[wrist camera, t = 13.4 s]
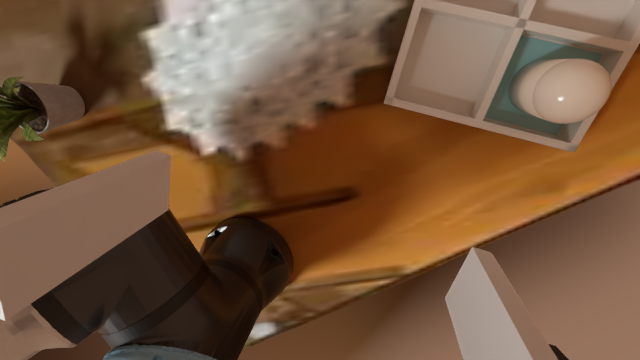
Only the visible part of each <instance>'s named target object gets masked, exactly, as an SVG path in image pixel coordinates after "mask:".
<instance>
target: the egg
mask: <svg viewBox="0 0 640 360" xmlns="http://www.w3.org/2000/svg"><path fill="white" fill-rule="evenodd" d="M611 87H612V83H611V78H610V75H609V73H608V72H607V70H606V69H605V68H604V67H603V66H601V65H600V64H598V63H596V62H594V61H591V60H588V59H542V60H536V61H533V62H530V63H528V64H526V65H525V66H523V67H522V68H520V69H519V70H518V71H517V72H516V74H515V75H514V76H513V78H512V80H511V82H510V84H509V89H508V95H509V99H510V102H511V104H512V105H513V106H514V107H515V108H516V109H518V110H519V111H522V112H524V113H527V114H530V115H533V116H536V117H538V118H541V119H544V120H547V121H550V122H553V123H560V124H567V123H574V122H578V121H581V120H584V119H586V118H588V117H590V116H592V115H593V114H595V113H596V112H597V111H599V110H600V109H601V108H602V107H603V105H604V104H605V103H606V101H607V100H608V98H609V96H610V93H611Z"/></svg>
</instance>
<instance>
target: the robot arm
mask: <svg viewBox="0 0 640 360" xmlns="http://www.w3.org/2000/svg"><path fill="white" fill-rule="evenodd" d="M170 167H171V155H168V154H165V153H161V152H158V151H152V152H150V153H147V154H144V155H142V156H139V157H136V158H134V159H131V160H128V161H125V162H123V163H120V164H117V165H115V166H112V167H109V168H107V169H104V170H101V171H99V172H96V173H93V174H90V175H88V176H85V177H82V178H80V179H77V180H74V181H72V182H69V183H66V184H64V185H61V186H58V187H56V188H52V189H47V190H42V191H37V192H34V193H31V194H28V195H26V196H23V197H20V198H19V199H18V200H12V201H9V202H6V203H3V205H2V206H0V360H27V359H29V358H30V357H31V356H33V355H34V354H36V353H37V352H39V351H40V350H43V349H46V348H63V347H64V348H65V347H74V346H75V345H77V344H78V343H80V342H81V341H83V340H84V339H85V338H87V337H88V336H89V335H91V334H92V333H94V332H95V331H98V332H99V333H100V334H101V335H102V337H103V338H104V339H105V340H106V341H107V343H108V344H109V345H110V346H111V348H112V350H111V351H110V352H108V353H107V354H106V355H105V357H104V359H103V360H237V359H238V357H239V355H240V353H241V351H242V349H243V347H244V345H245V343H246V341H247V339H248V337H249V335H250V333H251V331H252V329H253V327H254V325H255V322H256V320H257V318H258V316H259V314H260V312H261V311H262V310H263V309H264V308H265V307H266V306H267V305H268V304H269V303H270V302H272V301H273V300H274V299H275V298H276V297H277V296H278V295H279V294H280V293H281V292H282V291H283V290H284V289H285V287H286V285H287V283H288V281H289V279H290V277H291V274H292V270H293V259H292V254H291V251H290V249H289V247H288V245H287V243H286V242H285V240H284V239H283V238H282V237H281V236H280V234H278V233H277V232H276V231H275V230H274V229H273V228H271V227H270V226H268V225H267V224H265V223H263V222H261V221H258V220H255V219H251V218H246V217H236V218H230V219H227V220H225V221H223V222H221V223H220V224H218V225H217V226H216V227H215V228H214V229H213V230H212V231H211V232H210V233H209V234H208V235H207V237H206V238H205V240H204V242H203V245H202V247H201V249H200V252H198V251H197V250H196V248H195V247H194V245H193V244H192V242H191V241H190V239H189V238H188V236H187V235H186V233H185V232H184V230H183V229H182V227H181V226H180V224H179V223H178V221H177V220H176V218H175V217H174V215H173V214H172V212H171V211H170V209H169V187H170ZM445 300H446V303H447V306H448V310H449V313H450V316H451V319H452V323H453V326H454V330H455V333H456V336H457V340H458V343H459V347H460V350H461V353H462V357H463V360H568V358H567V357H566V356H565V355H563V353H562V352H561V351H560V350H559V349H558V348H557V347H556V346H553V345H550V344H548V343H547V341H546V339H545V338H544V336H543V335H542V333H541V332H540V330H539V328H538V327H537V325H536V324H535V322H534V320H533V319H532V317H531V315H530V314H529V312H528V311H527V309H526V307H525V306H524V304H523V303H522V301H521V299H520V298H519V296H518V294H517V293H516V292H515V290H514V288H513V286H512V285H511V284H510V282H509V280H508V279H507V277H506V275H505V274H504V272H503V270H502V269H501V267H500V266H499V264H498V262H497V261H496V259H495V258H494V256H493V254H492V253H491V252H487V251H484V250H481V249H478V248H474V247H472V248H471V250H470V252H469V254H468V256H467V258H466V260H465V262H464V264H463V265H462V267H461V269H460V271H459V273H458V275H457V277H456V278H455V280H454V282H453V284H452V286H451V288H450V290H449V292H448V293H447V295H446V297H445Z"/></svg>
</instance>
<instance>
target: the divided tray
mask: <svg viewBox="0 0 640 360" xmlns="http://www.w3.org/2000/svg"><path fill="white" fill-rule="evenodd" d="M639 44H640V0H414V3H413V6H412V9H411V13H410V16H409V19H408V23H407V26H406V29H405V33H404V36H403V39H402V42H401V46H400V49H399V52H398V56H397V59H396V62H395V66H394V69H393V72H392V76H391V79H390V82H389V85H388V89H387V92H386V95H385V99H384V104H387V105H391V106H395V107H399V108H403V109H407V110H411V111H415V112H418V113H422V114H426V115H430V116H434V117H438V118H442V119H446V120H450V121H453V122H457V123H461V124H465V125H469V126H473V127H477V128H481V129H484V130H488V131H492V132H496V133H500V134H504V135H508V136H512V137H516V138H519V139H523V140H527V141H531V142H535V143H539V144H543V145H547V146H550V147H554V148H558V149H562V150H566V151H570V152H575V150H576V148H577V147H578V145H579V143H580V142H581V140H582V138H583V137H584V135H585V133H586V132H587V130H588V128H589V127H590V125H591V123H592V122H593V120H594V118H595V117H596V115H597V113H598V112H599V111H597V112H596V113H595V114H593V115H592V116H590V117H588V118H586V119H584V120H581V121H578V122H574V123H567V124H560V123H553V122H550V121H547V120H544V119H541V118H538V117H536V116H533V115H530V114H527V113H524V112H522V111H519V110H518V109H516V108H515V107H514V106H513V105H512V104H511V102H510V99H509V95H508V89H509V84H510V82H511V80H512V78H513V76H514V75H515V74H516V72H517V71H518V70H519V69H520V68H522V67H523V66H525V65H526V64H528V63H530V62H533V61H536V60H542V59H588V60H591V61H594V62H596V63H598V64H600V65H601V66H603V67H604V68H605V69H606V70H607V72H608V73H609V75H610V78H611V83H612V87H611V90H612V88H613V87H614V85H615V84H616V82H617V80H618V79H619V77H620V75H621V74H622V72H623V70H624V69H625V67H626V65H627V64H628V62H629V60H630V59H631V57H632V55H633V54H634V52H635V50H636V49H637V47H638V45H639Z"/></svg>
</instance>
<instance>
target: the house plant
mask: <svg viewBox="0 0 640 360" xmlns="http://www.w3.org/2000/svg"><path fill="white" fill-rule="evenodd" d="M20 78H22V77H17V78H9V79H7V80H5V81H4V83H3V87H2V88H1V87H0V95H2V96H4V97H1V96H0V156H1V157H5V156H6V153H7V147H8V141H9V138H10V136H11V135H12V133H13V132H14V131H15V130H16V128H17V127H18V126H20V127H21V128H22V129H23V131H22V133H23V136H24V138H25V139H26V140H27V141H42V140H45V139H42V138H41V137H40V136H39V135H38V134H41V133H44V132H47V131H49V130H52V129H55V128H57V127H60V126H62V125H65V124H68V123H70V122H73V121H76V120H78V119H80V118H82V117H83V115H84V113H85V105H84V101H83V99H82V97H81V96H80V94H79V93H78V92H77V91H76V90H75V89H73V88H72V87H69V86H63V85H52V84H41V83H30V82H18V80H19V79H20ZM40 139H41V140H40ZM1 157H0V159H1V160H3V161H4V159H3V158H1Z"/></svg>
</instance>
